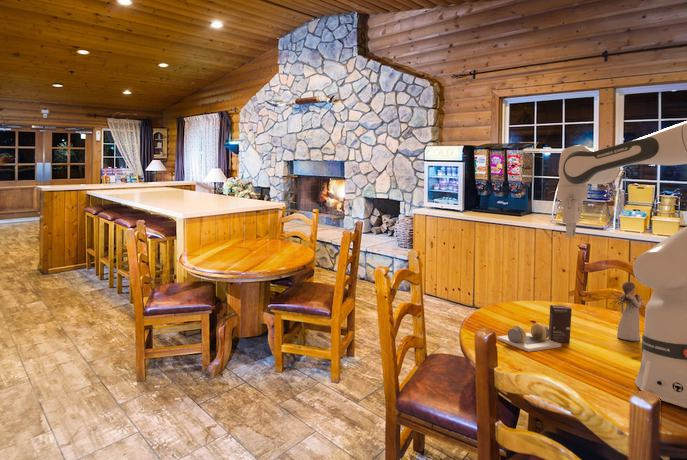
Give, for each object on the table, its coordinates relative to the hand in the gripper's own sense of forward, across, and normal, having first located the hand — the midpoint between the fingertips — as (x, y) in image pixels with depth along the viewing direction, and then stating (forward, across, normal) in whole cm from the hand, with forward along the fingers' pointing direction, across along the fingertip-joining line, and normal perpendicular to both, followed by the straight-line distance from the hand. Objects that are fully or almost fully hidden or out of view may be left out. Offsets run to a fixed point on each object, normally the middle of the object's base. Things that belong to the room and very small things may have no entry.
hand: (570, 236), depth 146 cm
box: (+36, 0, +2) cm, 36 cm away
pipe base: (+36, -9, +11) cm, 39 cm away
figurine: (+36, +15, -16) cm, 42 cm away
